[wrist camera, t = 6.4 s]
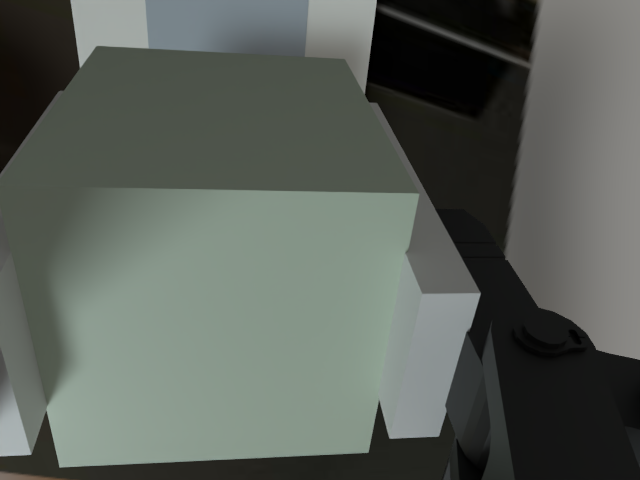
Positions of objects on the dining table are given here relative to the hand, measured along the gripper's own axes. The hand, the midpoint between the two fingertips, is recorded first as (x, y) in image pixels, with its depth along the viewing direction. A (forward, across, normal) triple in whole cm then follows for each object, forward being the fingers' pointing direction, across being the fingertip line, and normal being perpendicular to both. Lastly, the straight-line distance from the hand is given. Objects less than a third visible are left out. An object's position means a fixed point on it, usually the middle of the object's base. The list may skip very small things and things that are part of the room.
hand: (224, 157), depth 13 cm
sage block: (0, 0, 0) cm, 1 cm away
